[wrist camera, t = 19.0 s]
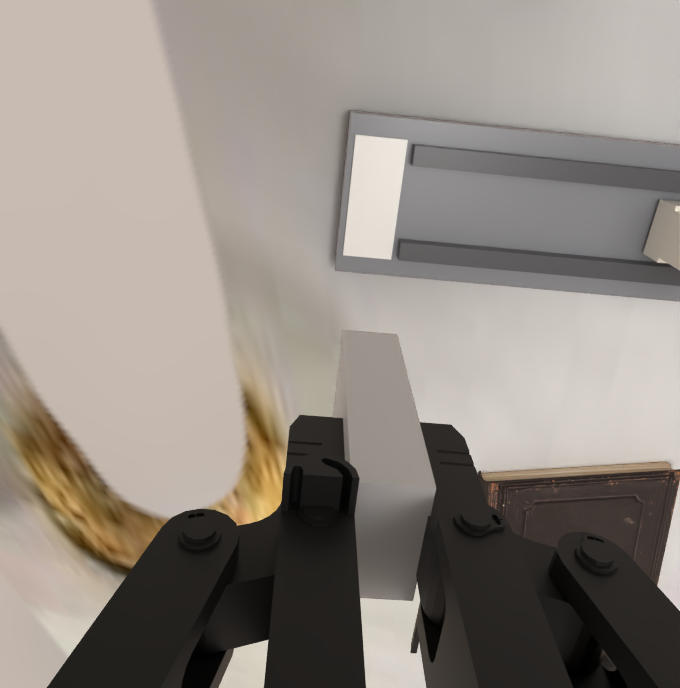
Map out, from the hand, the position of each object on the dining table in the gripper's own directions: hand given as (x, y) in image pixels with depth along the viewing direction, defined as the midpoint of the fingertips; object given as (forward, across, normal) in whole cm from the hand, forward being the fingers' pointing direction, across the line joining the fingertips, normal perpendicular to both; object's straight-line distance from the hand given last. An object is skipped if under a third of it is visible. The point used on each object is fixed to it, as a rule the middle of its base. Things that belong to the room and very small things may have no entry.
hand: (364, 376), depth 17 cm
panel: (+26, +14, 0) cm, 30 cm away
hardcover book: (+27, +23, -32) cm, 48 cm away
